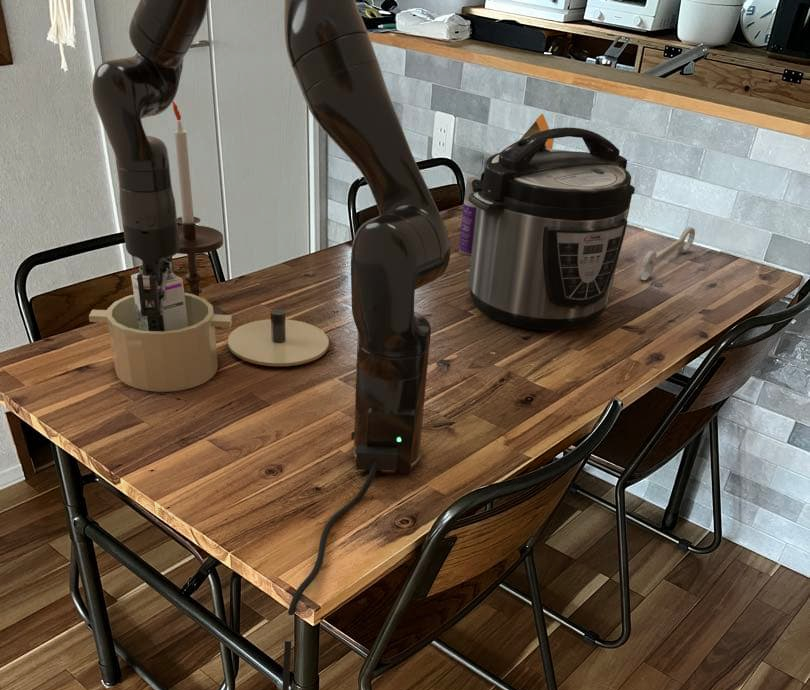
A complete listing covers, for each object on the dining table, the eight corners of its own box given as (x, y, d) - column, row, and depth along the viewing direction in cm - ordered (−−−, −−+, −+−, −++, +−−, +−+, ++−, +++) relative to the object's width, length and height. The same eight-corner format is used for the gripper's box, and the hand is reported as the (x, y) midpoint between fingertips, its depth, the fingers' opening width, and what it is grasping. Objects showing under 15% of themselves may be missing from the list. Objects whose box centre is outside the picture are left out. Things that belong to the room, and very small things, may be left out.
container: (456, 253, 183) (464, 180, 173) (461, 246, 186) (469, 175, 177) (477, 256, 182) (486, 184, 173) (482, 249, 185) (491, 178, 176)
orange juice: (507, 204, 213) (519, 117, 200) (515, 194, 219) (527, 110, 207) (538, 209, 211) (552, 122, 199) (544, 199, 218) (558, 115, 205)
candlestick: (179, 336, 143) (154, 109, 121) (156, 311, 150) (129, 93, 128) (238, 324, 148) (225, 104, 126) (213, 301, 155) (196, 89, 133)
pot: (229, 394, 128) (224, 336, 123) (87, 389, 127) (76, 330, 121) (239, 348, 141) (236, 293, 135) (110, 343, 139) (101, 287, 133)
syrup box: (194, 366, 133) (185, 277, 124) (160, 377, 130) (149, 285, 121) (174, 353, 136) (164, 265, 128) (141, 363, 133) (129, 273, 124)
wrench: (645, 285, 175) (652, 256, 172) (635, 282, 176) (642, 253, 173) (691, 250, 194) (698, 224, 190) (682, 248, 195) (689, 222, 191)
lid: (327, 371, 136) (328, 336, 132) (222, 367, 135) (219, 331, 131) (329, 327, 149) (330, 293, 145) (233, 323, 148) (231, 289, 144)
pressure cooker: (453, 330, 152) (474, 140, 132) (460, 272, 174) (479, 103, 154) (620, 347, 151) (666, 159, 131) (606, 287, 173) (643, 118, 153)
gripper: (132, 201, 124) (146, 306, 134) (111, 233, 113) (128, 345, 123) (184, 203, 125) (194, 308, 135) (168, 236, 114) (180, 347, 124)
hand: (162, 325), depth 129 cm, fingers open, 8 cm apart
